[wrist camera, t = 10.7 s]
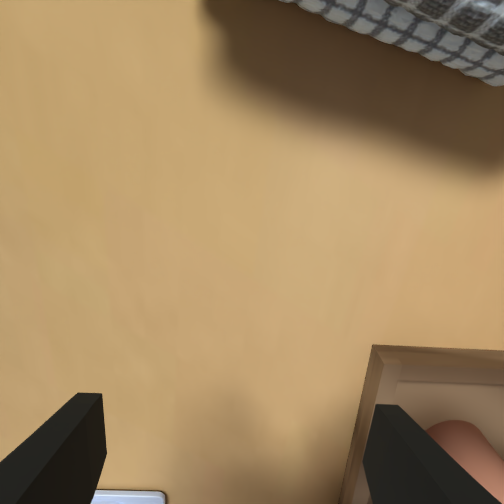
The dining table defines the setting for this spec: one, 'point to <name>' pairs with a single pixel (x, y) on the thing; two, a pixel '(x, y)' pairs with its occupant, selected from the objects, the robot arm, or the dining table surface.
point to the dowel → (471, 453)
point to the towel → (429, 29)
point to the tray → (427, 398)
